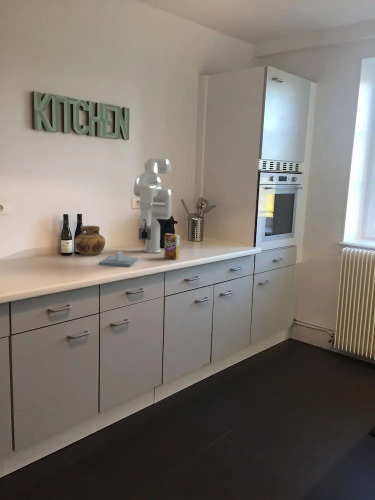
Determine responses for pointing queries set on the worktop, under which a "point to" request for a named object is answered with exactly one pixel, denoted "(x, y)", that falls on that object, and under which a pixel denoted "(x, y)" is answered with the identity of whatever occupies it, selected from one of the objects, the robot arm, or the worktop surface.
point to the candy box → (172, 246)
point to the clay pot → (90, 241)
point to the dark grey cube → (149, 233)
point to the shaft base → (118, 260)
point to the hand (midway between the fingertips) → (145, 236)
